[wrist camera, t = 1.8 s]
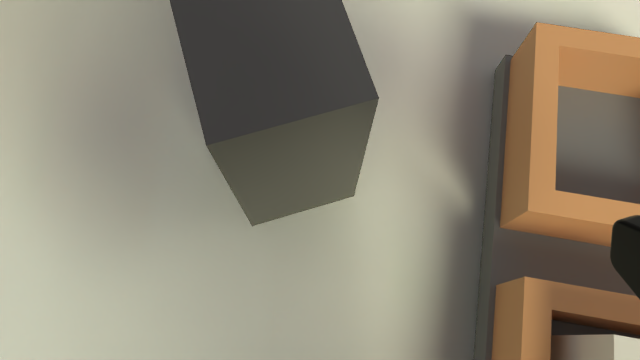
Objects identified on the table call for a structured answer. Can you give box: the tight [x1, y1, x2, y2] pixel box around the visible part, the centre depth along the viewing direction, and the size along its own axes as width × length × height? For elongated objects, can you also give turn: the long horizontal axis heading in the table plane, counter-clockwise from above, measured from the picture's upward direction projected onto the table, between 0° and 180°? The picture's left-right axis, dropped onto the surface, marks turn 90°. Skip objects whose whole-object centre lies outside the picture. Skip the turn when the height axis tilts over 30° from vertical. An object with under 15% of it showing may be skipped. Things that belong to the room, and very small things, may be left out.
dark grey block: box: [170, 0, 379, 226], centre depth 19 cm, size 5×5×10 cm
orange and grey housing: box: [474, 22, 640, 360], centre depth 19 cm, size 21×9×7 cm, turn 170°
